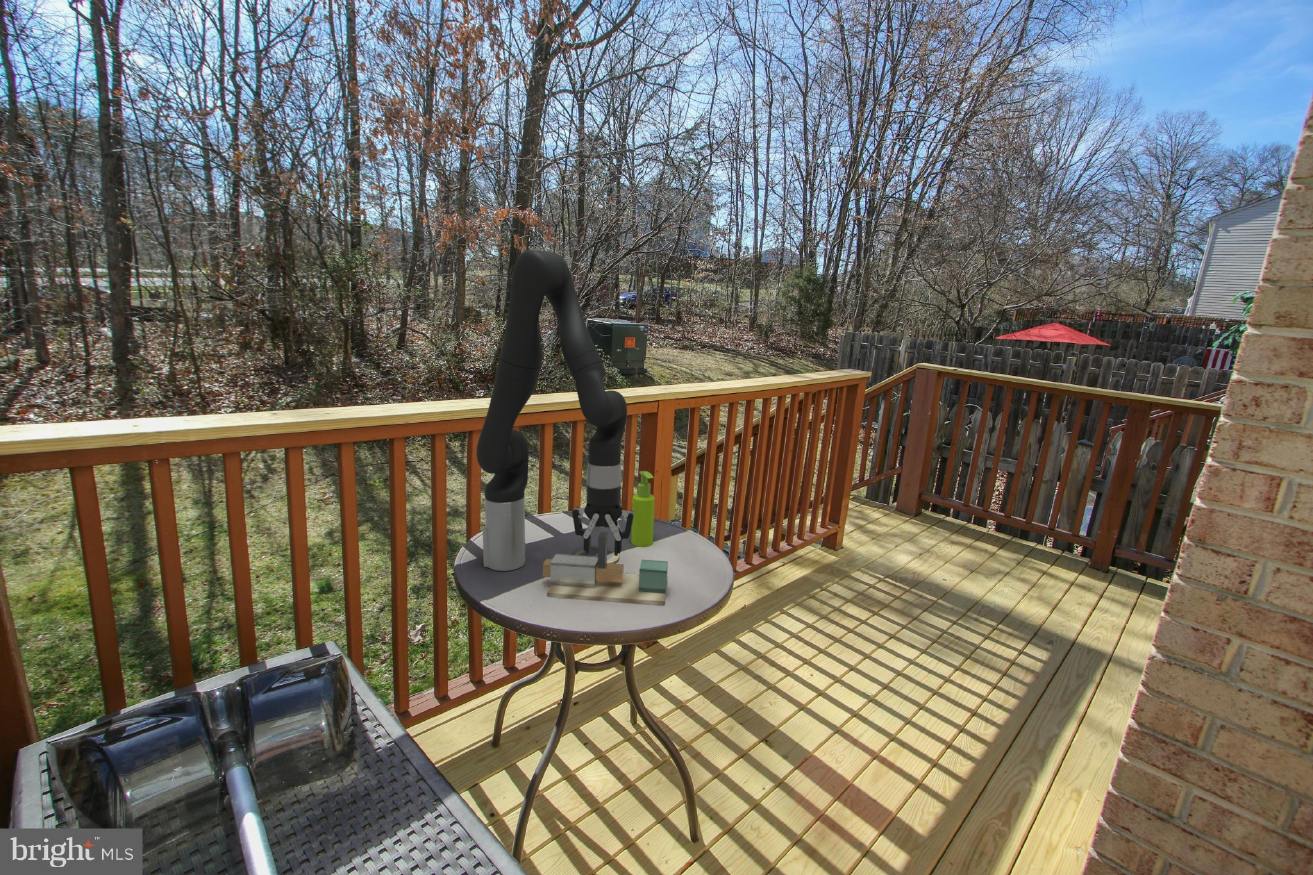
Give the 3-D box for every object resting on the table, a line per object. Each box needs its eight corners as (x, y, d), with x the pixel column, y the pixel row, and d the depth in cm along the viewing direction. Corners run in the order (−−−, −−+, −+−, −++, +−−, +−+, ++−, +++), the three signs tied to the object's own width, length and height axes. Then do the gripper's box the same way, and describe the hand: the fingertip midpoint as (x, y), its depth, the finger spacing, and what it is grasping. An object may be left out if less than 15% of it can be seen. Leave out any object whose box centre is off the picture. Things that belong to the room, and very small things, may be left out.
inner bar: (543, 576, 139) (542, 533, 136) (546, 570, 142) (546, 528, 139) (621, 582, 138) (622, 538, 135) (623, 576, 140) (624, 533, 138)
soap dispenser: (637, 549, 161) (639, 477, 157) (628, 539, 168) (630, 469, 163) (657, 546, 164) (660, 475, 159) (647, 537, 170) (650, 468, 165)
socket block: (638, 591, 137) (639, 569, 135) (640, 581, 141) (641, 559, 140) (665, 593, 136) (666, 570, 135) (666, 583, 141) (667, 561, 140)
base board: (546, 596, 135) (546, 592, 135) (559, 572, 146) (559, 568, 146) (664, 605, 133) (664, 601, 133) (667, 580, 145) (667, 576, 144)
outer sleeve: (550, 585, 138) (550, 562, 137) (555, 575, 143) (555, 553, 142) (594, 588, 137) (594, 565, 136) (598, 578, 142) (598, 556, 141)
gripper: (567, 485, 131) (567, 558, 135) (634, 489, 130) (632, 562, 134) (575, 475, 138) (574, 544, 142) (638, 479, 137) (636, 548, 141)
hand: (602, 553), depth 138 cm, fingers open, 5 cm apart
